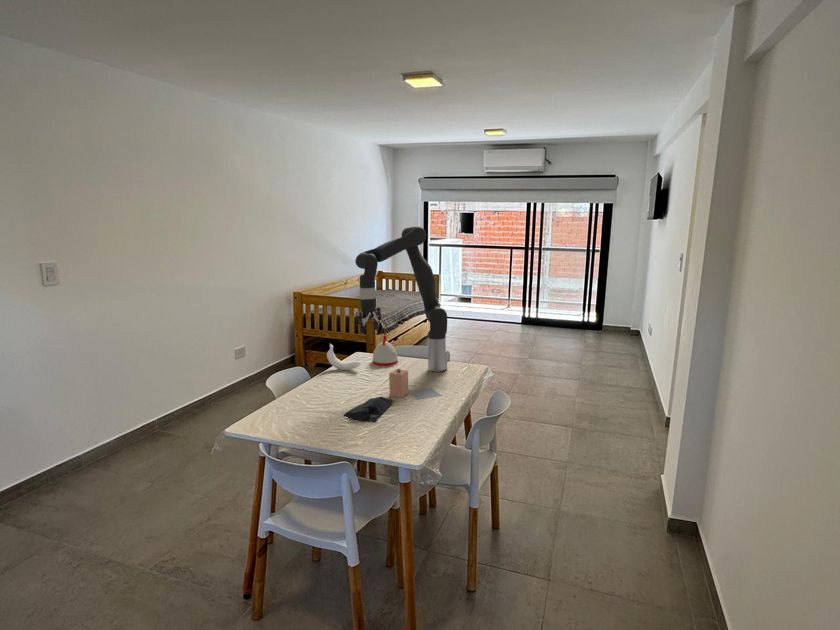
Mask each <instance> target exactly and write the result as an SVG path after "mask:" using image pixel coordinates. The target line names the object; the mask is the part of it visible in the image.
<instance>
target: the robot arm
mask: <svg viewBox="0 0 840 630" xmlns="http://www.w3.org/2000/svg"><path fill="white" fill-rule="evenodd" d="M426 239H427V232H426V230H425V228H423V227H422V226H419V225H417V226H411V227H410V226H409V227H405V228H404V229H403V230H402V232H401V236H400V237H398V238H395V239H393V240H390V241H387V242H385V243H383V244H380V245H378V246H376V247H375V248H372V249H368V250H366V251H363V252H360V253H359V254H358V255H356V258H355V259H354V260H355V265H356V266H357V267H358V269H363V270H364V271H363V274H361V275H360V276H359V307H360V308H361V310H360V311H356V313H355V315H356V316H355V317H356V318H355V323H356V324H355V325H357V326H359V328H360V329H359V330H360V331H359V332H360V334H362V335H364V334H366V323H367V322H368V320H372V321H373V322H372V325H373V326H372V327H373V330H374V331H377V330H378V329H379V321H381V320H382V314H381V313H382V311H381V307H377V291H376V276H377V270H378V263H382V262H384V261H386V260H388V259H390V258H392V257H393V256H395V255H397V254H399V253H402V252H403V251H406V253H407V256H408V258H409V262H410V264H411V268H412V271H413V275H414V277H415V281H416V285H417V287H418V291H419V294H420V296H421V299H422V303H423V308H424V314H425V319H426V320H427V321H428V322H429V331H428V333H427V370H428V371H429V370H430V372H432V371H434V372H433V373H440V371H441V372H444V371H446V370H445V369H447V370H448V351H446V350H447V349H446V348H447V346H446V345H447V344H446V342H447V341H446V340H447V339H446V338H447V337H446V336H447V331H448V314H447V311H446V310H445V309H444V308H441V306H440V304H439V301H438V298H437V296H436V280H435V276H434V273H433V268H432V267H431V265H430V263H428V261H427V260H426V259H425V258H424V256H423V255H422V254H421V251H420V249H419V246H421V245H422V244H424V243H425V242H426ZM443 370H444V371H443Z"/></svg>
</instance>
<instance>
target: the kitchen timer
mask: <svg viewBox="0 0 840 630" xmlns="http://www.w3.org/2000/svg"><path fill="white" fill-rule="evenodd" d="M387 339H388V337H387V335H385V334H384V335H383V339H382V342H380V343H379V344H378V345H377V346H376V347H375V349H374V350H373V353H372V365H375V366H378V367H391V366H394V364H395V365H397V364H398V363H399V357H398V351H397V349H396V348H395V347H394V346H393V344H391V343H390V342H389V341H388V340H387ZM390 365H391V366H390Z"/></svg>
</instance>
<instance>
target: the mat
mask: <svg viewBox="0 0 840 630" xmlns="http://www.w3.org/2000/svg"><path fill="white" fill-rule="evenodd" d="M408 394H410V395H411V396H412V397H414V399H416V400H417V401H420V400H425V399H426V400H427V399H430V398H437V397H442V396H443V395H442V394H441V393H439V392H438V391H437V390H436V389H434V388H432V387H431V386H430V387H424V388H418V389H412V390H408Z"/></svg>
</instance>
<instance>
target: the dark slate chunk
mask: <svg viewBox="0 0 840 630" xmlns="http://www.w3.org/2000/svg"><path fill="white" fill-rule="evenodd" d="M393 402H394V401H393V400H392V399H390V398H388V397H384V396H377V397H374V398H373V397H372V398H369V399H367V400H366V401H365V402H363V403H361V404H359V405H357V406H355V407H353V408H352V409H350V410H348V411H347V412H345V413H344V414H343V417H344V416H346V417H348V418H352V419H351V420H353V421H355V420H357V421H356V422H361V421H362V422H363V423H376V422H377V420H379V418H381V417H382V415H384V413H385V412H386V411H387V410H388V409H389V407H390V406H391V405H392V404H393ZM348 418H347V419H348Z"/></svg>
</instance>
